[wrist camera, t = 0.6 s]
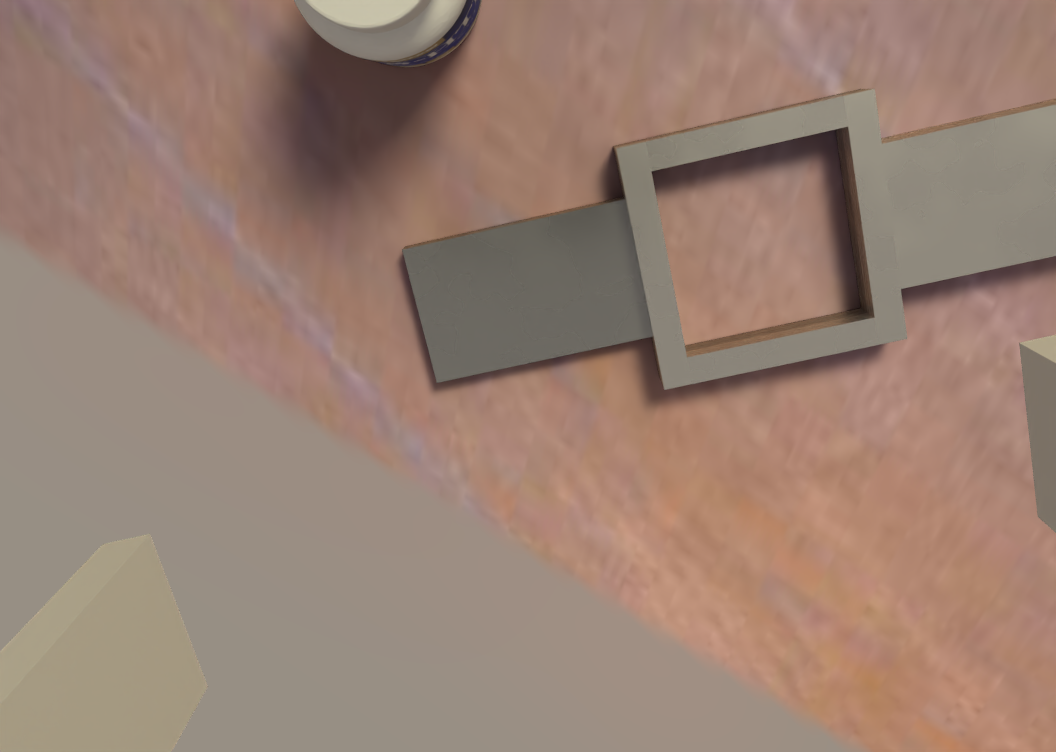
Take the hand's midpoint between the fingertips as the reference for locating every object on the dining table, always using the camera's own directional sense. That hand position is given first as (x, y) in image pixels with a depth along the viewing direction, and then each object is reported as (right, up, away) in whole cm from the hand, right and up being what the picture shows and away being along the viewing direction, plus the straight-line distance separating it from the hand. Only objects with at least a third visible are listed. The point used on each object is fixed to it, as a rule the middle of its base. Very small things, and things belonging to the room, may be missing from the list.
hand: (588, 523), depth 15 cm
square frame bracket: (+7, +7, +21) cm, 23 cm away
